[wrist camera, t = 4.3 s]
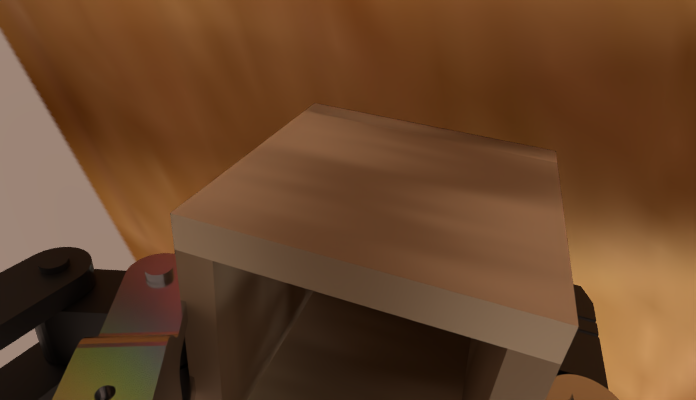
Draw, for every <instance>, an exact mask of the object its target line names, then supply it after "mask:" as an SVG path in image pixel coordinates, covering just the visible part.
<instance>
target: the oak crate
mask: <svg viewBox="0 0 696 400" xmlns="http://www.w3.org/2000/svg"><path fill="white" fill-rule="evenodd" d="M170 215H171V223H172V232H173V240H174V249H175V257H176V266H177V275H178V283H179V292H180V300H183V301H186V304H187V314H188V324H187V329H186V333H185V343H186V351H187V360H188V368H189V375H190V376H192V377H194V378H195V387H196V396H195V400H545V399H546V397H547V395H548V393H549V390H550V388H551V386H552V384H553V382H554V380H555V377H556V375H557V373H558V371H559V369H560V366H561V364H562V362H563V360H564V358H565V355H566V353H567V351H568V349H569V347H570V344H571V342H572V340H573V338H574V336H575V334H576V331H577V329H578V327H579V325H578V317H577V310H576V302H575V294H574V287H573V279H572V271H571V263H570V256H569V248H568V240H567V233H566V225H565V217H564V210H563V202H562V194H561V186H560V179H559V171H558V163H557V156H556V151H553V150H548V149H543V148H538V147H533V146H528V145H523V144H518V143H513V142H508V141H503V140H498V139H493V138H488V137H483V136H478V135H473V134H468V133H463V132H458V131H453V130H448V129H443V128H438V127H433V126H428V125H423V124H417V123H412V122H407V121H402V120H397V119H392V118H387V117H382V116H377V115H372V114H367V113H362V112H357V111H352V110H347V109H342V108H337V107H332V106H327V105H322V104H317V103H314V104H313V105H311V106H310V107H309V108H308V109H306V110H305V111H304V112H302V113H301V114H300V115H298V116H297V117H296V118H294V119H293V120H292V121H290V122H289V123H288V124H287V125H285V126H284V127H283V128H281V129H280V130H279V131H277V132H276V133H275V134H273V135H272V136H271V137H269V138H268V139H267V140H266V141H264V142H263V143H262V144H260V145H259V146H258V147H256V148H255V149H254V150H252V151H251V152H250V153H248V154H247V155H246V156H245V157H243V158H242V159H241V160H239V161H238V162H237V163H235V164H234V165H233V166H231V167H230V168H229V169H227V170H226V171H225V172H224V173H222V174H221V175H220V176H218V177H217V178H216V179H214V180H213V181H212V182H210V183H209V184H208V185H206V186H205V187H204V188H203V189H201V190H200V191H199V192H197V193H196V194H195V195H193V196H192V197H191V198H189V199H188V200H187V201H185V202H184V203H183V204H182V205H180V206H179V207H178V208H176V209H175V210H174V211H172V212H171V213H170Z"/></svg>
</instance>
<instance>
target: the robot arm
mask: <svg viewBox="0 0 696 400" xmlns="http://www.w3.org/2000/svg"><path fill="white" fill-rule="evenodd" d="M573 287H574V294H575V302H576V310H577V317H578V325H579V327H578V329H577V331H576V334H575V336H574V338H573V340H572V342H571V344H570V347H569V349H568V351H567V353H566V355H565V358H564V360H563V362H562V364H561V366H560V369H559V371H558V373H557V375H556V377H555V380H554V382H553V384H552V386H551V388H550V390H549V393H548V395H547V397H546V399H545V400H619V399H618V398H617V397H616V396H615V395H614V394H613V393H612V392H610V391H609V390H608V384H607V379H606V373H605V368H604V362H603V356H602V351H601V345H600V339H599V338H598V328H597V324H596V323H595V322H596V317H595V311H594V306H593V303H592V301H591V300H590V298H589V297H588V296H587V294H586V293H585V291H584V290H583V289H582V287H581V286H578V285H574V284H573ZM187 324H188V314H187V304H186V301H183V300H180V292H179V283H178V275H177V266H176V257H175V254H170V253H163V254H155V255H151V256H147V257H145V258H142V259H140V260H138V261H137V262H135V263H134V264H132V265H131V266H130V267H129V268H128V270H127V271H119V270H101V269H94V268H93V264H92V259H91V256H90V255H89V253H88V252H86V251H85V250H82V249H79V248H73V247H60V248H53V249H49V250H45V251H43V252H40V253H38V254H35V255H33V256H31V257H30V258H28V259H26V260H24V261H22V262H20V263H18V264H16V265H14V266H12V267H11V268H9V269H7V270H5V271H3V272H1V273H0V350H1V349H3V348H5V347H6V346H8V345H9V344H11V343H12V342H14V341H16V340H17V339H19V338H20V337H21V336H23V335H25V334H26V333H28V332H29V331H31V330H32V329H34V328H35V331H36V334H37V337H38V340H39V342H38V343H37V344H35V345H34V346H33V347H31V348H29V349H28V350H27V351H25V352H24V353H22V354H21V355H19V356H18V357H16V358H15V359H13V360H12V361H10V362H9V363H8V364H6V365H4V366H3V367H2V368H0V400H195V396H196V387H195V378H194V377H192V376H190V375H189V368H188V360H187V351H186V343H185V333H186V329H187Z"/></svg>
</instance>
